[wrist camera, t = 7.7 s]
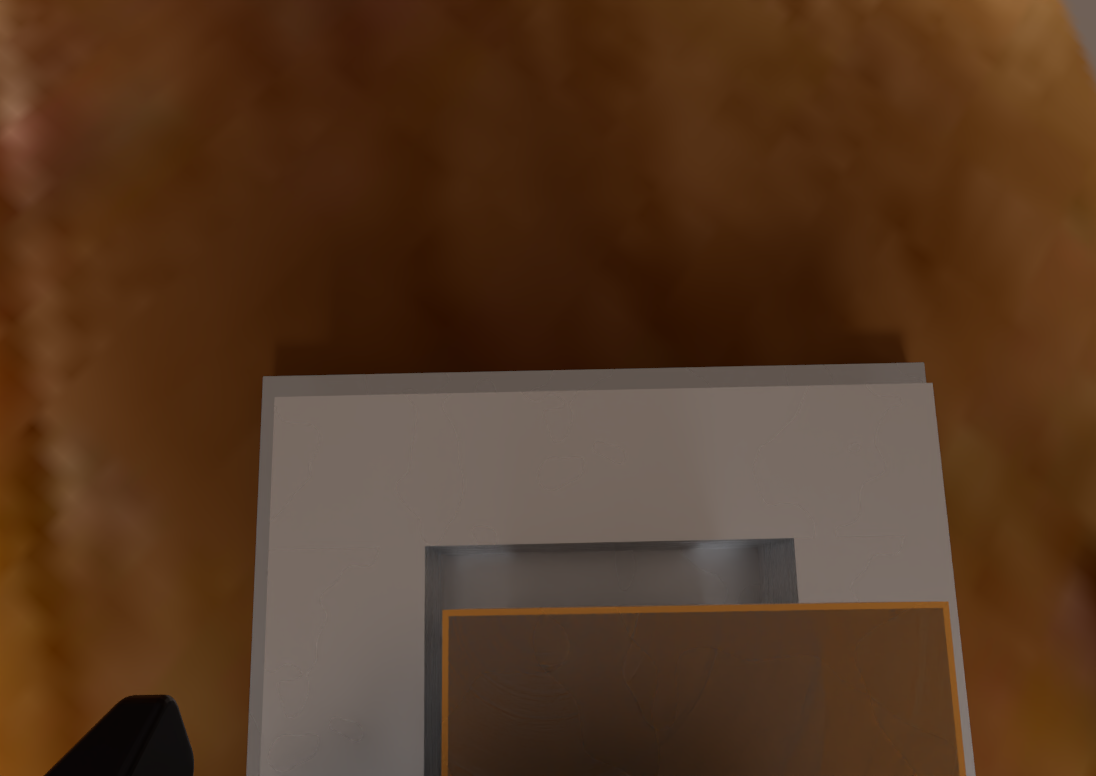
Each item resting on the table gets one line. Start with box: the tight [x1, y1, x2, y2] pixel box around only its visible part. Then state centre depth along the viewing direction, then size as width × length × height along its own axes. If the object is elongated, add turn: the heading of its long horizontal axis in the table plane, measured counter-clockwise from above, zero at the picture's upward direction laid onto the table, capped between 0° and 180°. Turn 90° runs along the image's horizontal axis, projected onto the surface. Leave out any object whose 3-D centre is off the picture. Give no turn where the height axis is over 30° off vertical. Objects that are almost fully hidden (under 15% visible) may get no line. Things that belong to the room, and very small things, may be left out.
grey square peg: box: [441, 601, 966, 776], centre depth 13 cm, size 4×4×12 cm
